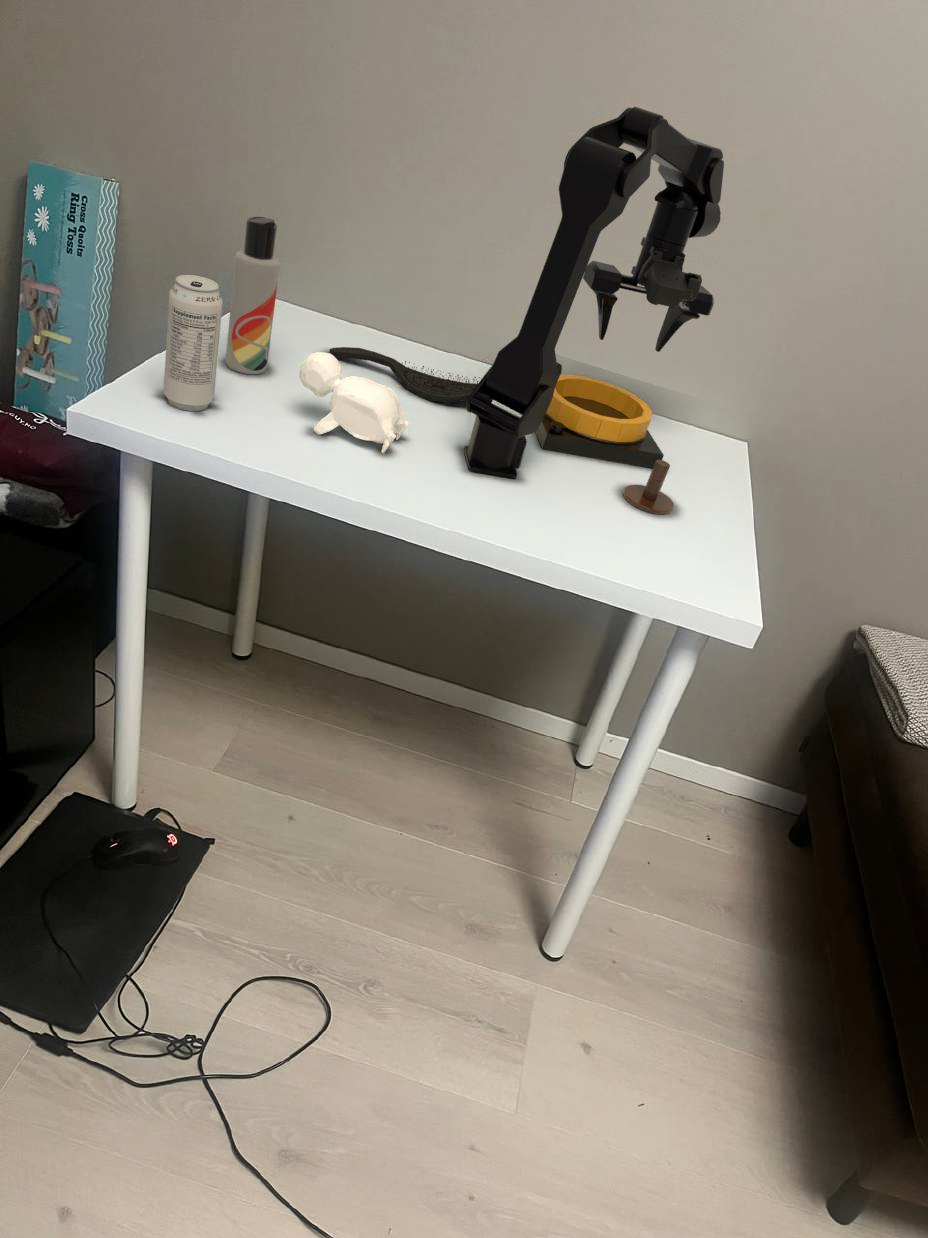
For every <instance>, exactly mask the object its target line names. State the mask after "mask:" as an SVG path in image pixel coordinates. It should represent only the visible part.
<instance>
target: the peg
mask: <svg viewBox="0 0 928 1238" xmlns="http://www.w3.org/2000/svg"><path fill="white" fill-rule="evenodd" d="M670 468H671V464H670V463H669V462H667V461H665V460H663V459H662V460H656V462H655V464H654V467H653V469H652V468H651V469H652V470H651V472H650V474H649V477H648V479H647V482H646V484H645V485H643V484H629V485H626V486H625V487H624V489H623V492H622V497H623V498H624V499H625V501H627V502H628V503H629V504H630V505H631V506H633V507H634V508H637V509H638V510H640V511H643V512H646V513H648V514H653V515H661V516H662V515H668V514H670V513H672V512H673V509H674V507H675V504H674V502H673V500H672V499H671V497H669V496H668V495H667V494H665V493H664V492H662V491H661V489H662V487H663V484H664V482H665V480H666V477H667V475H668V472H669V469H670Z"/></svg>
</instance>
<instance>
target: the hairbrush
mask: <svg viewBox="0 0 928 1238" xmlns="http://www.w3.org/2000/svg"><path fill="white" fill-rule="evenodd" d="M328 353H330V354H332V355H333V356H334V357H335V358H341V359H351V360H360V361H369V362H371V363H375V364H378V365H381V366H384V367H387V368H389V369H390V370H391V372H392V373H393V374H394V376H396V378H397V379H398V381H399V382H400V383H401V384H402V385H403V386H404V388H405V389H407V390H408V391H409V392H411V393H413V394H414V395H415V396H417V397H419V398H421V399H425V400H428V401H431V402H437V403H438V402H439V403H445V404H446V403H457V402H463V401H464V402H465V401H466V402H467V398H468V396H469V395H470V394H471V392H472V391H473V390H474V388H475V387H476V386H477V384H478V383H479V380H477V376H474V377H473V380H475V381H476V382H470V379H468V376H466V377H464V378H463V375H461V376H460V374H458V373H457V376H456V375H455V376H454V377H452V376H453V375H454V373H452V375H451V372H447V374H446V377H447V378H445V375H443V374H444V371H441V370H440V374H438V372H439V369H438V370H437V371H436V372H435V373H433V372H434V371H435V370H434V369H435V368H431V370H430V374H429V373H428V372H429V371H428V370H429V369H430V367H427V369H425V372H424V368H425V365H422V367H421V368H420V370H421V371H420V370H418V366H414V365H415V364H416V363H415V362H414V363H413V366H411V368H410V366H406V364H407V360H404V362H403V361H402V362H400V361H398V360H397V359H395V358H393V357H390V356H387V355H384V354H382V353H380V352H376V351H374V350H369V349H365V348H361V347H352V346H351V347H350V346H349V347H348V346H341V347H339V346H338V347H331V348H329V352H328ZM410 363H411V361H409V362H408V364H410ZM435 374H437V376H435ZM482 378H483V377H481V378H480V377H478V379H480V380H481V379H482ZM467 380H468V381H467Z"/></svg>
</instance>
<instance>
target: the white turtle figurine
mask: <svg viewBox="0 0 928 1238" xmlns="http://www.w3.org/2000/svg"><path fill="white" fill-rule="evenodd" d="M342 371H343V370H342V366H341V364H340V362H339V360H338V358H337V357H334V356H333V355H332V354H330V353H329V352H325V351H317V352H313V353H311V354H308V355H307V357H306V358H305V360H304V361H303V363H302V364H301V365H300V368H299V380H300V382H301V384H302V385H303V386H304V388H306V389H308V390H310V391H311V392H312V393H313V394H314V395H315V396H317V397H321V398H322V397H325V396H326V395H328V394H330V393H331V392H332V394H331V396H330V401H329V407H330V412H329V413H328V414H326V415H325V416H324V417H323V418H321V419H320V420H318V422H317V423H316V424H315V425H314V427H313V432H314V433H315V434H317V435H323V434H326V433H328V432H331V431H332V430H334V429H336V428H337V427H339V426H341V427H342V428H343V430H345V431H346V432H348V434H350V435H352V437H354V438H356V439H360V440H363V441H371V442H374V443H376V444H383V445H382V449H381V453H382V454H385V453H386V451H387V450H388V448H389V447H390V445H391V444H392V443H393V442H394V440H396V441H398V440H399V439H400V438H401V436H402V435H403V433H404V432H405V431H406V429H407V428H408V426H409V425H410V422H409V421H408V420H405V419H404V418H405V417H404V413H403V410H402V407H401V403H400V400H399V396H398V395H397V394H396V391H394V390H393V389H392V388H391V387H389V386H388V385H384V384H381V383H378V382H375V381H374V380H371V379H368V378H366V377H363V376H356V375H351V376H346V377H344V378H342V379H341V375H342Z"/></svg>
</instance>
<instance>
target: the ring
mask: <svg viewBox="0 0 928 1238" xmlns="http://www.w3.org/2000/svg"><path fill="white" fill-rule="evenodd" d="M563 397H578V398H583V399H589V400H593V401H596V402H599V403H602V404H605V405H608V406H610V407H611V408H613V409H615V410H617V411H619V412H621V413H623V414H624V415H626V416H627V417H628V418H629V419H617V418H611V417H606V416H601V415H598V414H595V413H592V412H589V411H586V410H584V409H582V408H580V407H578V406H576V405H574V404H572V403H570V402H568V401H567V400H565V399H564V398H563ZM546 414H548V415H549V416H550V417H551V418H552V419H554V420H555V421H557V422H560V423H562V424H564V425H565V427H567V428H569V429H571V430H573V431H576V432H579V433H582V434H585V435H588V436H590V437H593V438H597V439H602V440H608V441H613V442H634V441H637V440H639V439H642V438H644V436H645V433H646V431H647V430H648V428H649V425H650V422H651V419H652V416H653V411H652V410H651V408H650V406H649V404H647V403H646V402H645V401H644V400H642V399H641V398H639V397H638V396H637V395H635V394H633V393H632V392H630V391H628V390H626V389H624V388H622V387H619V386H618V385H615V384H613V383H609V382H606V381H603V380H600V379H597V378H593V377H589V376H583V375H578V374H577V375H576V374H561V375H560V377H559V379H558V381H557V383H556V386H555V389H554V394H553V398H552V401H551V403H550V405H549V408H548V410H547V412H546Z"/></svg>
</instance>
